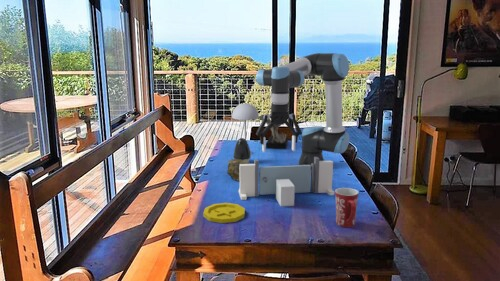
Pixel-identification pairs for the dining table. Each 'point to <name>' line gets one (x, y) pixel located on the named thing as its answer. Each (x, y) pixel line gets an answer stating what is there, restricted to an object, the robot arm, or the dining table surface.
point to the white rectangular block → (285, 192)
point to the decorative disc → (224, 212)
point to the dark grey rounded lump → (242, 150)
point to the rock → (235, 168)
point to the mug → (346, 206)
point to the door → (294, 173)
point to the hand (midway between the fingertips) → (278, 150)
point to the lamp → (245, 114)
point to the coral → (276, 137)
